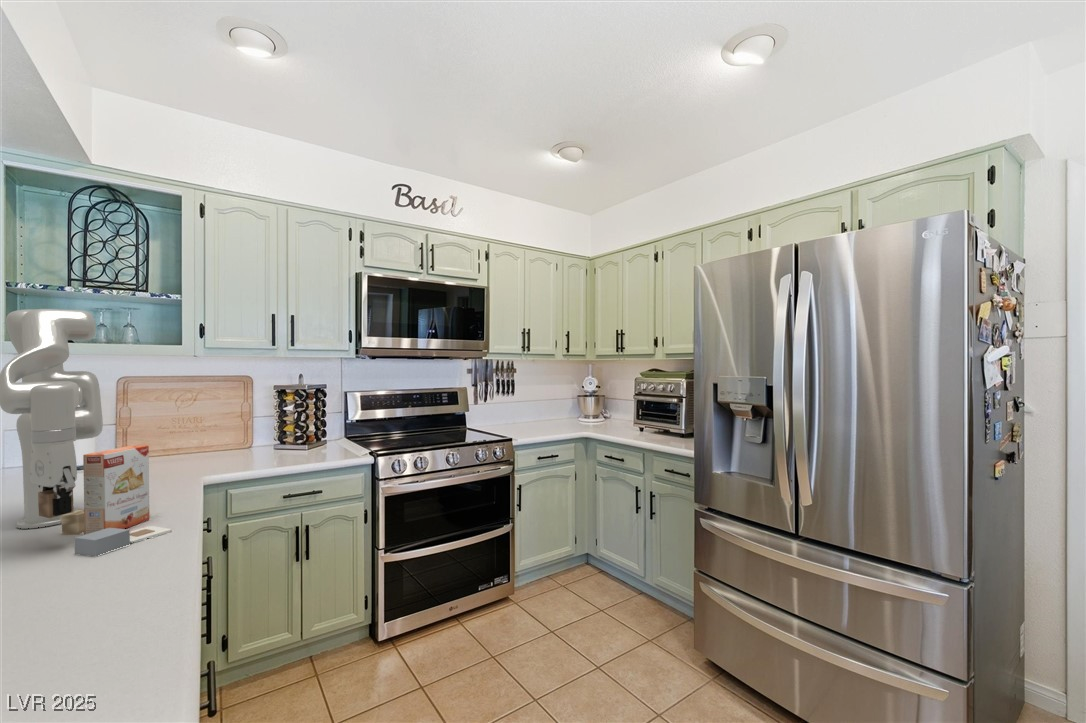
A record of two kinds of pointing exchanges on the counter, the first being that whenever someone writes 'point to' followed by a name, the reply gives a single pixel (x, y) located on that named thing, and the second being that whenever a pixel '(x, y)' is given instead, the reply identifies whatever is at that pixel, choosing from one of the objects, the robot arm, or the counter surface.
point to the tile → (147, 533)
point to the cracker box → (116, 488)
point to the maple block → (73, 522)
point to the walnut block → (48, 503)
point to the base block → (101, 541)
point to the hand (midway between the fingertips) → (56, 511)
